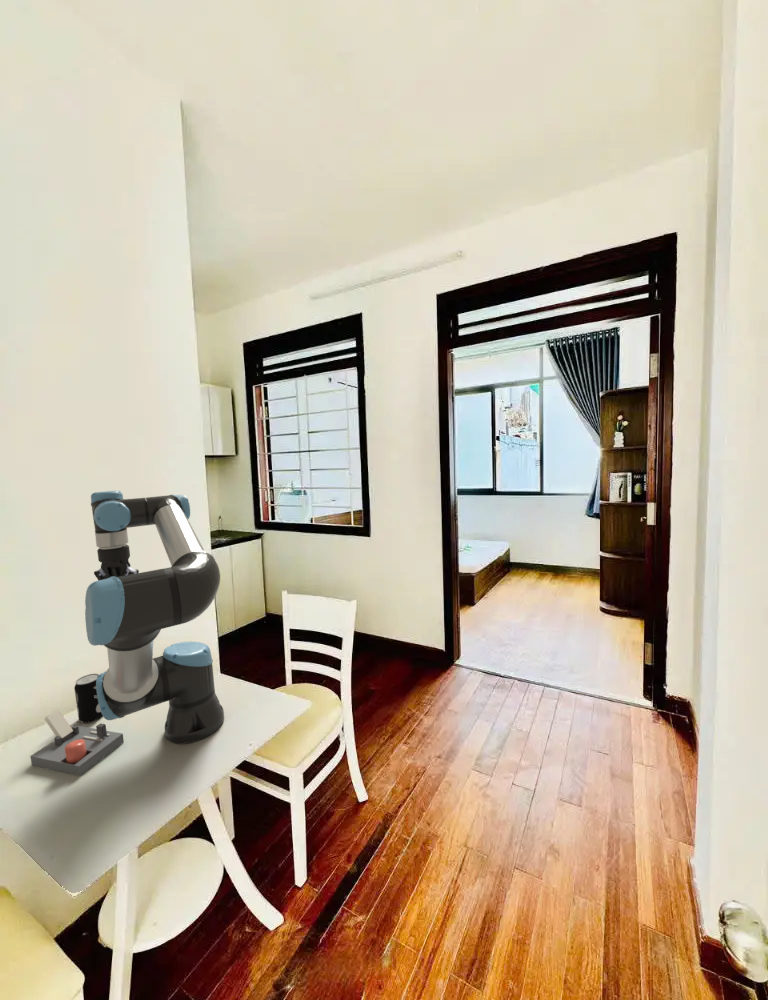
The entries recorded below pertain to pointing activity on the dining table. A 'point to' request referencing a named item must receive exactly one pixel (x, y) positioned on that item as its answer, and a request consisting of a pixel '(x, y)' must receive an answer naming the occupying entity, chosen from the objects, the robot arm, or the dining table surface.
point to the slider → (101, 730)
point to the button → (75, 751)
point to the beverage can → (87, 698)
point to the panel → (95, 751)
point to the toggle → (59, 725)
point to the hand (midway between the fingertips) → (123, 626)
